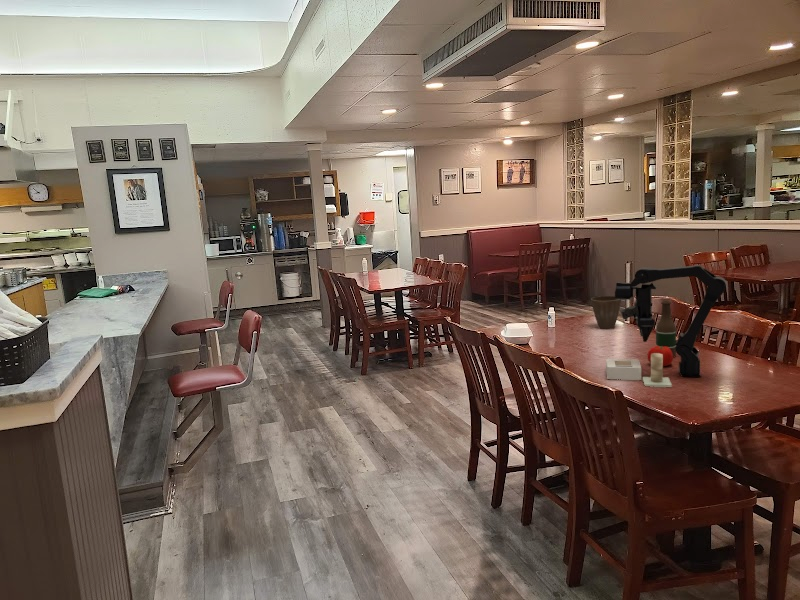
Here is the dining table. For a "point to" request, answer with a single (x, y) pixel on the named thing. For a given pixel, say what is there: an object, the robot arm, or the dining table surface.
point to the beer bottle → (666, 329)
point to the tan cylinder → (656, 367)
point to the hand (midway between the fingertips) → (643, 339)
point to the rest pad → (664, 383)
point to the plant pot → (606, 311)
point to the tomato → (663, 350)
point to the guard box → (623, 369)
